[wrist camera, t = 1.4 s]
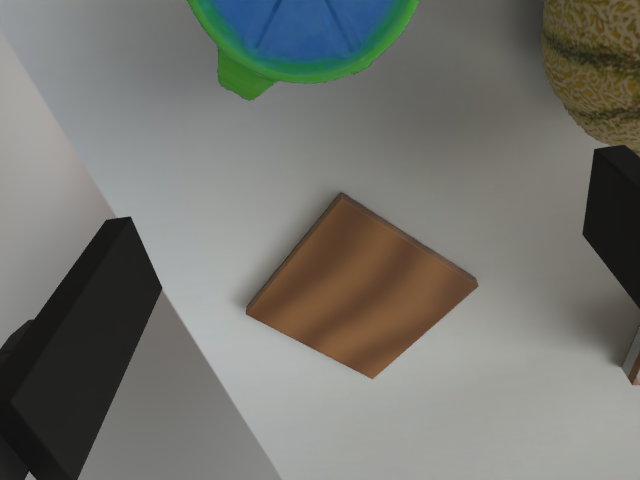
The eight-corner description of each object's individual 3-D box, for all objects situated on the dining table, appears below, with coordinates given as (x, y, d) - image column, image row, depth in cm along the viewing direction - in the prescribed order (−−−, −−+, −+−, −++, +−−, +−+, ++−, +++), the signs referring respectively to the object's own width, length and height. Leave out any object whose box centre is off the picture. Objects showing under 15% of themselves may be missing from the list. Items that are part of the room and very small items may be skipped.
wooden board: (246, 306, 44) (244, 314, 43) (341, 191, 37) (341, 198, 37) (372, 371, 48) (372, 379, 47) (476, 278, 42) (479, 286, 41)
